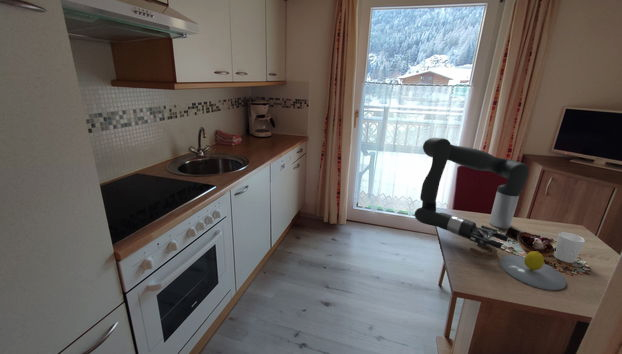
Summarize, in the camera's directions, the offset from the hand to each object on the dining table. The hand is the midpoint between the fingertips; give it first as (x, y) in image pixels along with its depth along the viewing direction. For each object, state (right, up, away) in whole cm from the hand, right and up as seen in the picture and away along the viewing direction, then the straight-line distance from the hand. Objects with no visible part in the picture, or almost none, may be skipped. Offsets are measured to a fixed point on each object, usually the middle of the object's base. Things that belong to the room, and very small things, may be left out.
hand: (504, 242), depth 111 cm
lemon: (+7, -9, -5) cm, 12 cm away
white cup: (+28, -8, +6) cm, 30 cm away
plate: (+7, -10, -5) cm, 13 cm away
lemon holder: (-4, -6, +7) cm, 10 cm away
